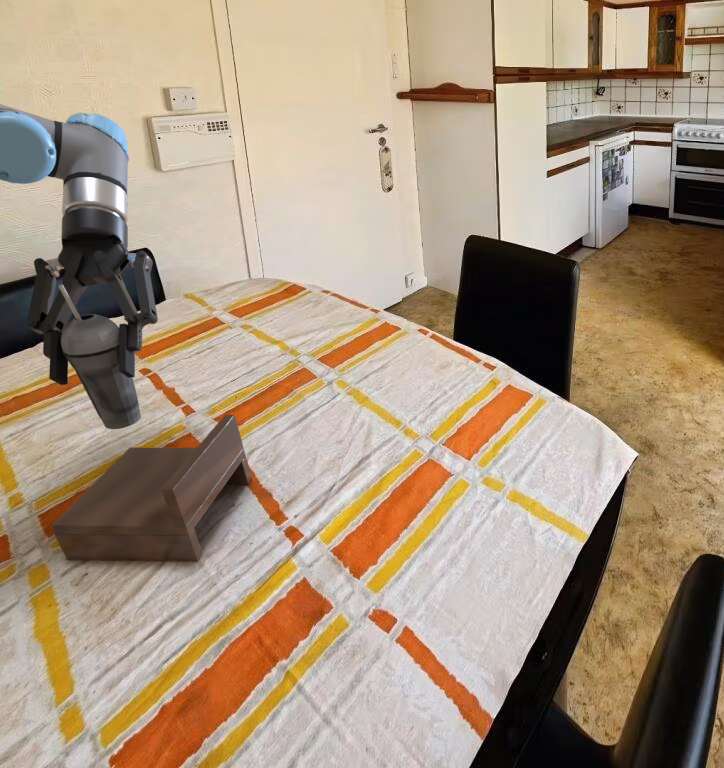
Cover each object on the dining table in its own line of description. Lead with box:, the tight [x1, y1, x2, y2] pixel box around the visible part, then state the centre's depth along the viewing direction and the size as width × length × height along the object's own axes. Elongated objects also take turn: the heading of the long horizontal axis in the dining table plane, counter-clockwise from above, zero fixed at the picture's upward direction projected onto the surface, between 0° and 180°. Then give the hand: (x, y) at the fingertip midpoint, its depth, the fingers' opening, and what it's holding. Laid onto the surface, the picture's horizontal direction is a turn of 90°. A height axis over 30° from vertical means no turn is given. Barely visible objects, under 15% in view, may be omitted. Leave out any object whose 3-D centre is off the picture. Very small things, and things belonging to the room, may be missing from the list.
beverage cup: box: [57, 284, 142, 430], centre depth 82 cm, size 7×7×20 cm
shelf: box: [50, 414, 253, 562], centre depth 88 cm, size 18×18×12 cm
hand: (93, 377), depth 79 cm, fingers closed on beverage cup, 7 cm apart
